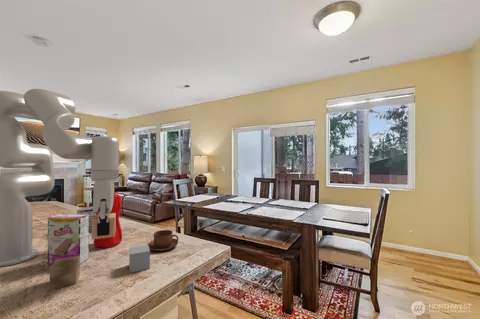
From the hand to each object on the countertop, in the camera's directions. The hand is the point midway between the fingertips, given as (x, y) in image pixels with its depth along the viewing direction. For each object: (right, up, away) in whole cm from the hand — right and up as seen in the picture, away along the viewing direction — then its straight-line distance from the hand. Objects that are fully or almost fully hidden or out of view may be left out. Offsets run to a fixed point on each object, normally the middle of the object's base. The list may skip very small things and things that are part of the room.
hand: (104, 231), depth 70 cm
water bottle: (-12, -14, +24) cm, 30 cm away
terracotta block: (0, -1, 0) cm, 1 cm away
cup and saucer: (+11, -14, +21) cm, 28 cm away
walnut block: (-9, -13, -5) cm, 17 cm away
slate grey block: (+9, -14, +4) cm, 17 cm away
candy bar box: (-17, -14, +8) cm, 23 cm away
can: (-33, -14, +42) cm, 55 cm away
